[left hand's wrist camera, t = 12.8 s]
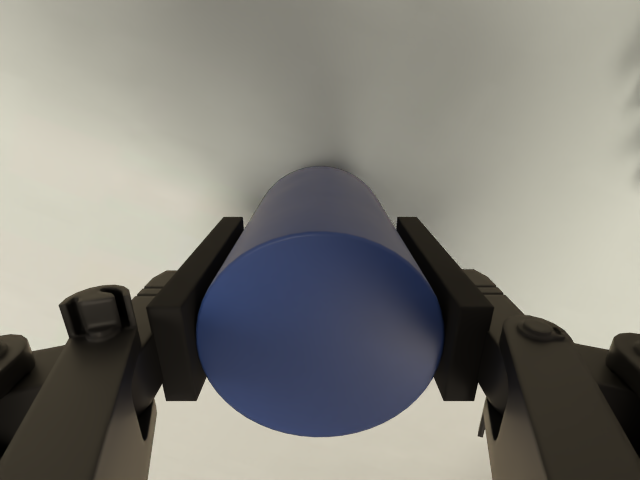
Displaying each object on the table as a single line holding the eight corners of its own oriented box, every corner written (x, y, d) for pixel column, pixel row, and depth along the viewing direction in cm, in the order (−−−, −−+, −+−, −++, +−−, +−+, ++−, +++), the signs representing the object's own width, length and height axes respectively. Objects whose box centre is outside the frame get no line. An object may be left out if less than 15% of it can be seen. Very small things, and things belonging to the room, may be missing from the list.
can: (358, 300, 18) (388, 458, 10) (243, 267, 17) (175, 409, 9) (404, 189, 16) (491, 277, 8) (275, 147, 15) (223, 195, 7)
